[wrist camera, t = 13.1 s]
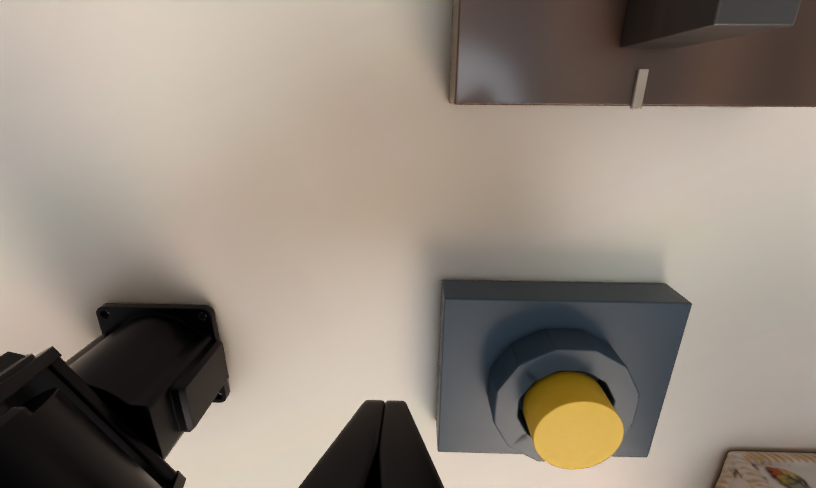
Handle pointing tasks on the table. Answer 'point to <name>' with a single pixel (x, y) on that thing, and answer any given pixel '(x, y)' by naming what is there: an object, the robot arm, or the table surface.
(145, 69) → the table surface
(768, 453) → the decorative jar
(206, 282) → the table surface
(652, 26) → the dark grey block
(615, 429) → the button
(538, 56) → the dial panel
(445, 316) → the blue button base
